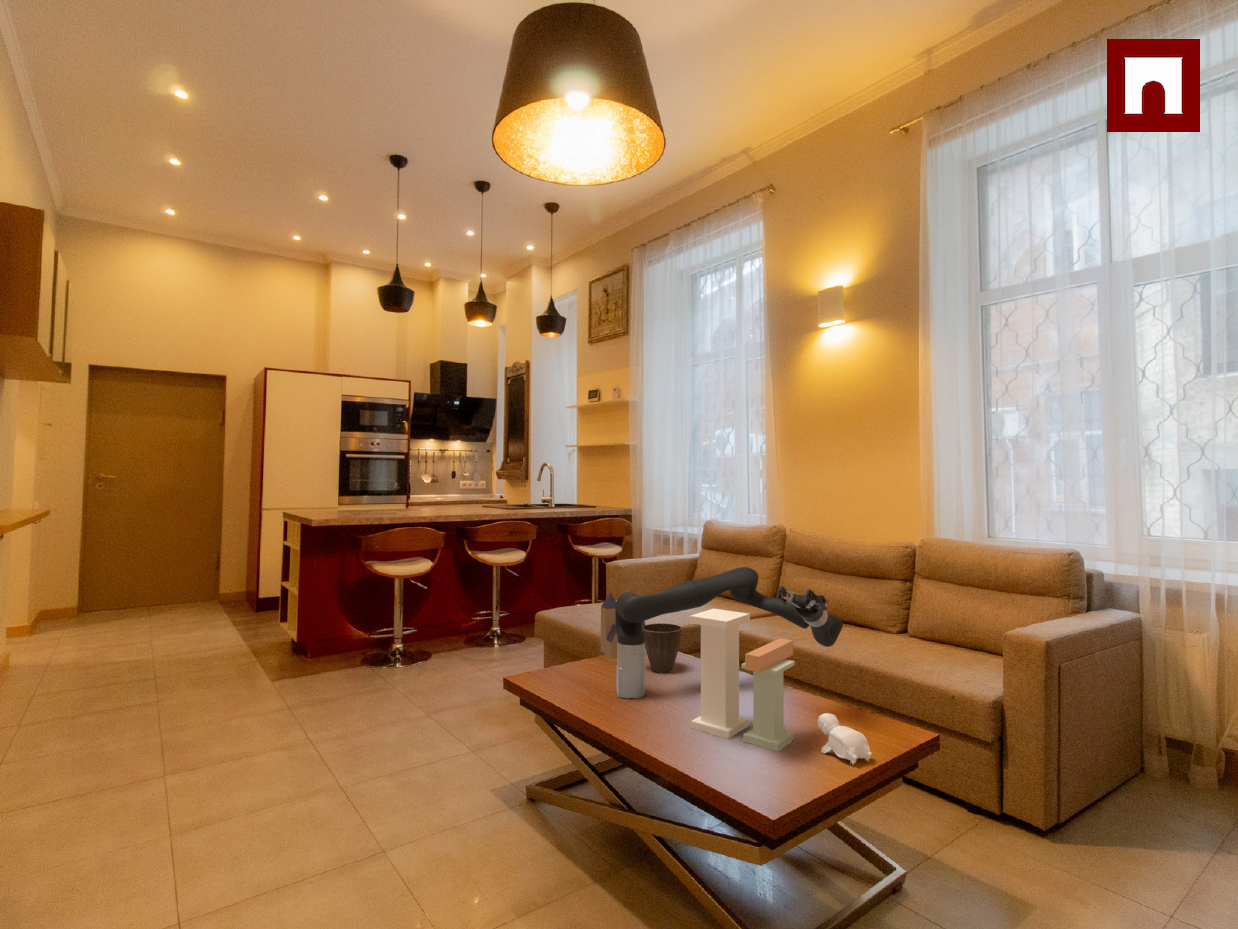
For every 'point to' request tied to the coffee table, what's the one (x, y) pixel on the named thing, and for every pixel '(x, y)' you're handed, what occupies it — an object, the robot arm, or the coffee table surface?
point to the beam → (768, 655)
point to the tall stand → (720, 672)
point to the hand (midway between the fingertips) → (793, 589)
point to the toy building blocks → (609, 627)
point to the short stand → (769, 708)
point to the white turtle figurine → (843, 739)
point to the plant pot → (662, 645)
